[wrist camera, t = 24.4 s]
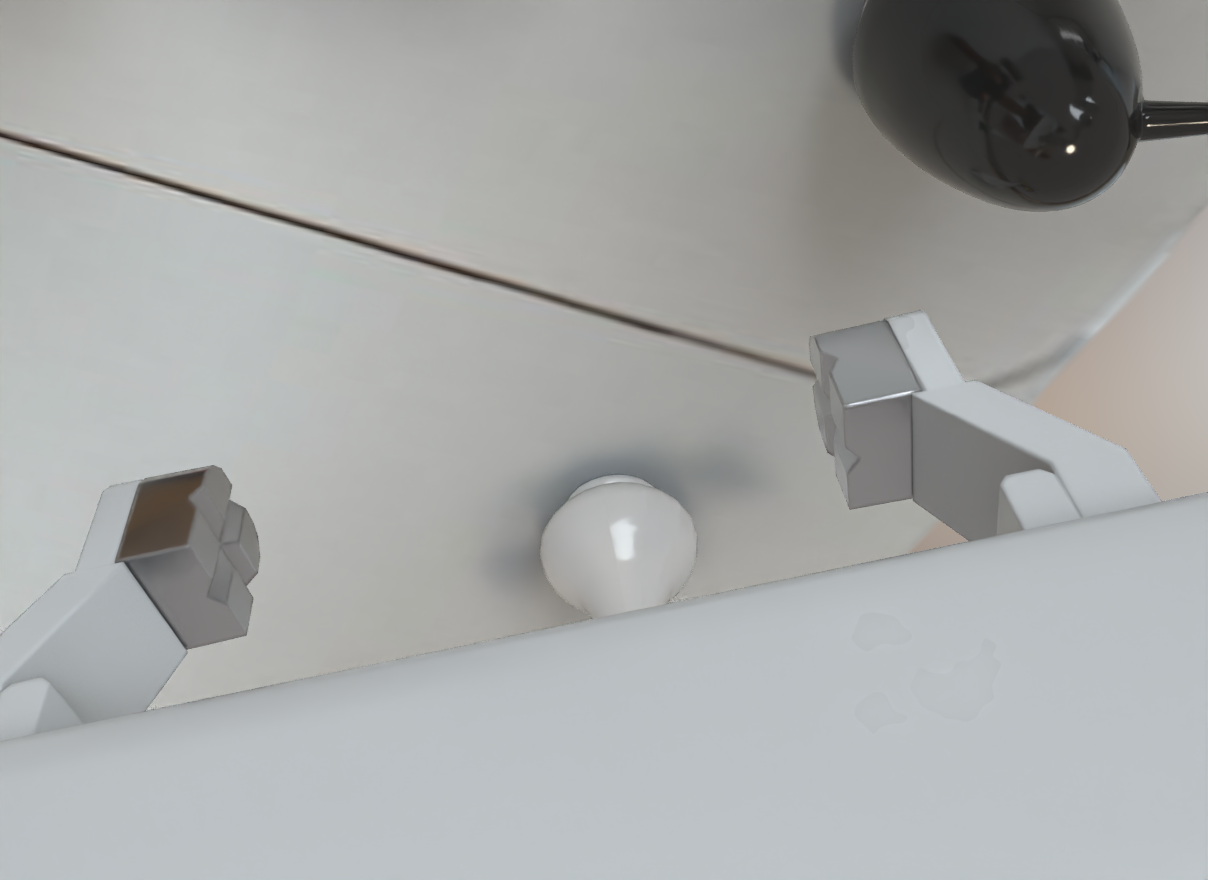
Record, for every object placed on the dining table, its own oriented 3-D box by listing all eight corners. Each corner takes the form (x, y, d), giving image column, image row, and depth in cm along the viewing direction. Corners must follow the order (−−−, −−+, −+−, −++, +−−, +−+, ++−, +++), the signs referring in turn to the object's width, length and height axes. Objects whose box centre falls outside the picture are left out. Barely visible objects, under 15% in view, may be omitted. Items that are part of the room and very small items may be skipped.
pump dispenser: (1052, 88, 53) (1217, 257, 42) (836, 137, 54) (940, 317, 42) (1070, -142, 47) (1272, -16, 35) (823, -83, 47) (942, 60, 36)
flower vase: (800, 471, 68) (934, 854, 49) (577, 621, 75) (620, 1006, 56) (664, 351, 61) (761, 743, 42) (433, 529, 68) (426, 933, 49)
